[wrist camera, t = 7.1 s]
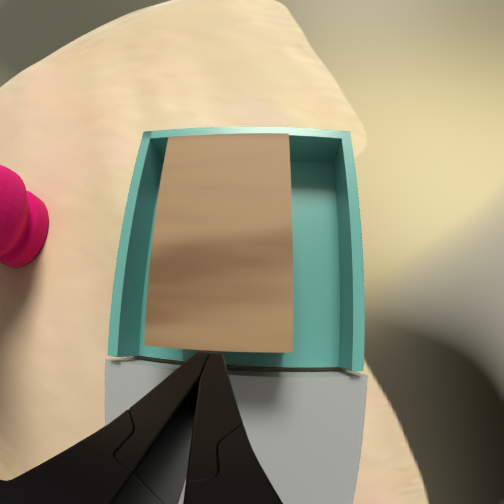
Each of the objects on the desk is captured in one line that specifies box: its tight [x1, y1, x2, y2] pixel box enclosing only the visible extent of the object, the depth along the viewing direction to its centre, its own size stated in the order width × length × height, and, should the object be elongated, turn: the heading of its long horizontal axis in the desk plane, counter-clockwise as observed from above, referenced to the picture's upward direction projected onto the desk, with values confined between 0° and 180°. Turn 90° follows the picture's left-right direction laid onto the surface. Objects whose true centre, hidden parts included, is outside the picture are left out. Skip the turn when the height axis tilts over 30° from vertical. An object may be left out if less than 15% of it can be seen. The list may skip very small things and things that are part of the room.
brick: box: [144, 133, 293, 353], centre depth 16 cm, size 6×6×10 cm
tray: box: [108, 127, 364, 372], centre depth 18 cm, size 14×13×4 cm
